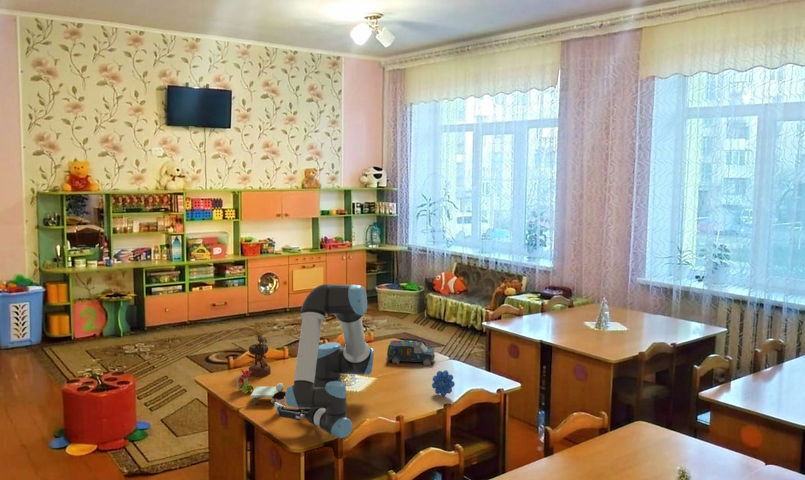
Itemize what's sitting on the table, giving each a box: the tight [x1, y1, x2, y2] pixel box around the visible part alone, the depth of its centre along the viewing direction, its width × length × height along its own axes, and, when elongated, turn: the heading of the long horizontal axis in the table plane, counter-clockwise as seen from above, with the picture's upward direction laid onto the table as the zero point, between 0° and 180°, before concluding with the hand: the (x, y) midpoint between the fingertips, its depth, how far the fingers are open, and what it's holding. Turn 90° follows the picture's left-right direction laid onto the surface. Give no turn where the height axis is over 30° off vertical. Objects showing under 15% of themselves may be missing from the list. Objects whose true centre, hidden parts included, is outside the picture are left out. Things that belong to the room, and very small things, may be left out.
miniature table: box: [250, 385, 278, 406], centre depth 286 cm, size 11×11×4 cm
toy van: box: [386, 339, 436, 366], centre depth 344 cm, size 11×25×10 cm, turn 82°
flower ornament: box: [236, 368, 255, 395], centre depth 296 cm, size 6×11×9 cm
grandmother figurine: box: [270, 382, 287, 416], centre depth 272 cm, size 8×4×13 cm, turn 132°
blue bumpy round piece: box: [431, 370, 455, 397], centre depth 294 cm, size 12×7×12 cm, turn 54°
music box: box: [246, 333, 271, 378], centre depth 321 cm, size 15×11×20 cm
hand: (290, 401), depth 266 cm, fingers open, 13 cm apart
